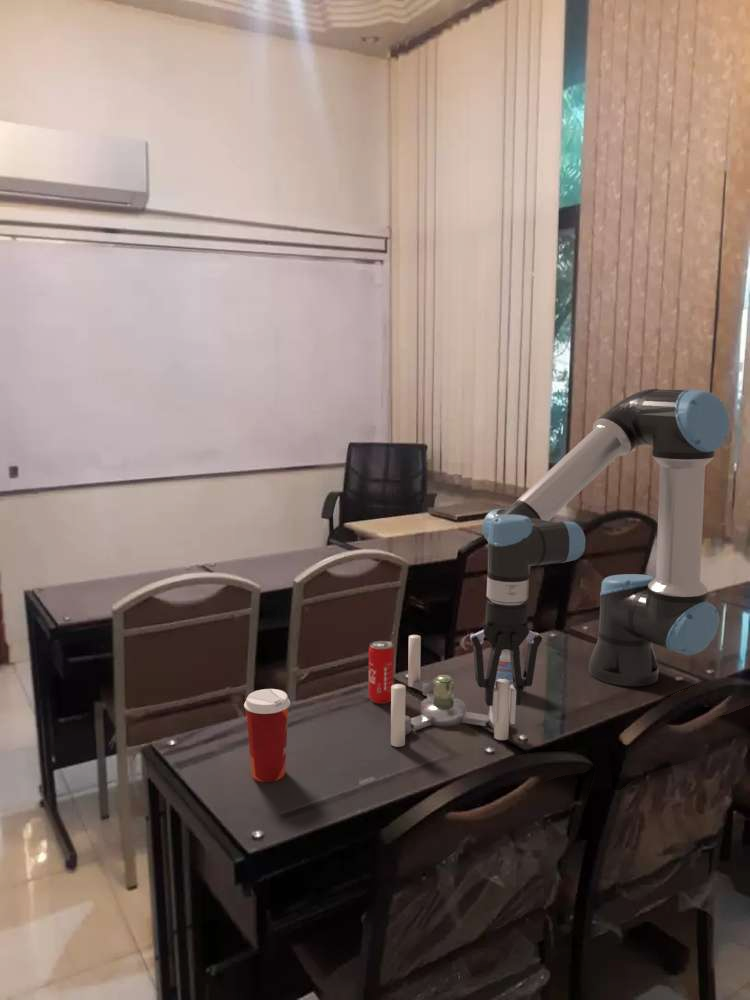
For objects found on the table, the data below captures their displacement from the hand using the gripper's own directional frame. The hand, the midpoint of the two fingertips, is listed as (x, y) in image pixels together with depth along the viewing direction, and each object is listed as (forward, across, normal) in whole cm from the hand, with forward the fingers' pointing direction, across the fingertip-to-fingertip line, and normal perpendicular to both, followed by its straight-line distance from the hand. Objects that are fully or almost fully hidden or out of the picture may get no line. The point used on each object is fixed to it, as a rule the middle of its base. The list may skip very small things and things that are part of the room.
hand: (502, 720), depth 147 cm
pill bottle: (+4, +6, +22) cm, 23 cm away
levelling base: (+4, -10, +12) cm, 16 cm away
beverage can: (+4, -21, +19) cm, 29 cm away
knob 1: (+3, -19, +2) cm, 19 cm away
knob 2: (+3, 0, +3) cm, 4 cm away
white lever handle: (+3, -12, +23) cm, 26 cm away
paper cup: (+4, -43, -10) cm, 44 cm away
